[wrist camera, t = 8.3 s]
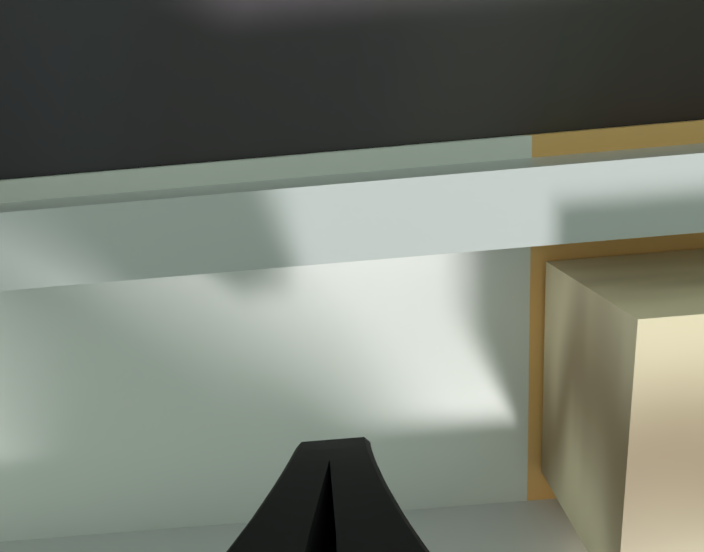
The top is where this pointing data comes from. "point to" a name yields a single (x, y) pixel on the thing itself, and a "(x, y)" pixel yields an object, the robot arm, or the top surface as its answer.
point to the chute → (307, 330)
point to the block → (626, 399)
